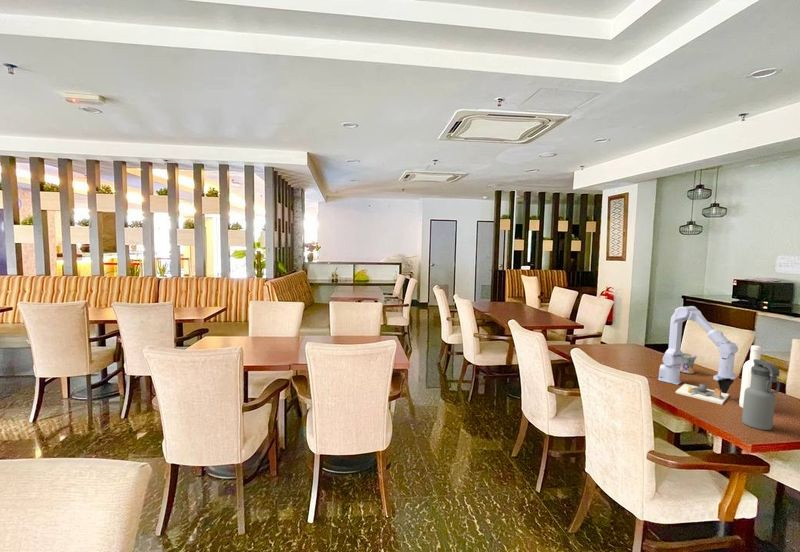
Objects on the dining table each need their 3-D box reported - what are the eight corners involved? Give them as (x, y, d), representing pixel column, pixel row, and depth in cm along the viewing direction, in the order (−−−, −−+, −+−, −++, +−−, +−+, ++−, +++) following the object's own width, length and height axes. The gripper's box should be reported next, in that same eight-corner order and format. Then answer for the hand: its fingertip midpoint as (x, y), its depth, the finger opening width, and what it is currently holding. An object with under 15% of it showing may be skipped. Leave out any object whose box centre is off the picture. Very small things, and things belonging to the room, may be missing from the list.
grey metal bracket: (689, 390, 207) (689, 382, 206) (699, 388, 210) (699, 380, 209) (716, 399, 195) (717, 391, 194) (726, 397, 198) (727, 389, 197)
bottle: (763, 413, 183) (770, 349, 181) (741, 409, 187) (747, 346, 184) (758, 406, 190) (764, 345, 187) (737, 403, 194) (743, 343, 191)
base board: (675, 393, 206) (676, 383, 205) (684, 385, 218) (685, 376, 217) (721, 404, 191) (722, 394, 191) (729, 395, 203) (729, 386, 203)
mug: (697, 375, 235) (699, 358, 234) (679, 373, 238) (681, 356, 237) (689, 369, 247) (691, 352, 246) (672, 367, 249) (674, 351, 249)
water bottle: (779, 430, 165) (786, 365, 163) (760, 432, 164) (767, 365, 161) (754, 419, 175) (760, 358, 173) (735, 421, 174) (741, 358, 171)
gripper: (725, 370, 192) (722, 397, 193) (744, 367, 197) (741, 394, 198) (709, 365, 199) (707, 392, 200) (728, 363, 204) (726, 389, 205)
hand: (723, 392), depth 200 cm, fingers closed
